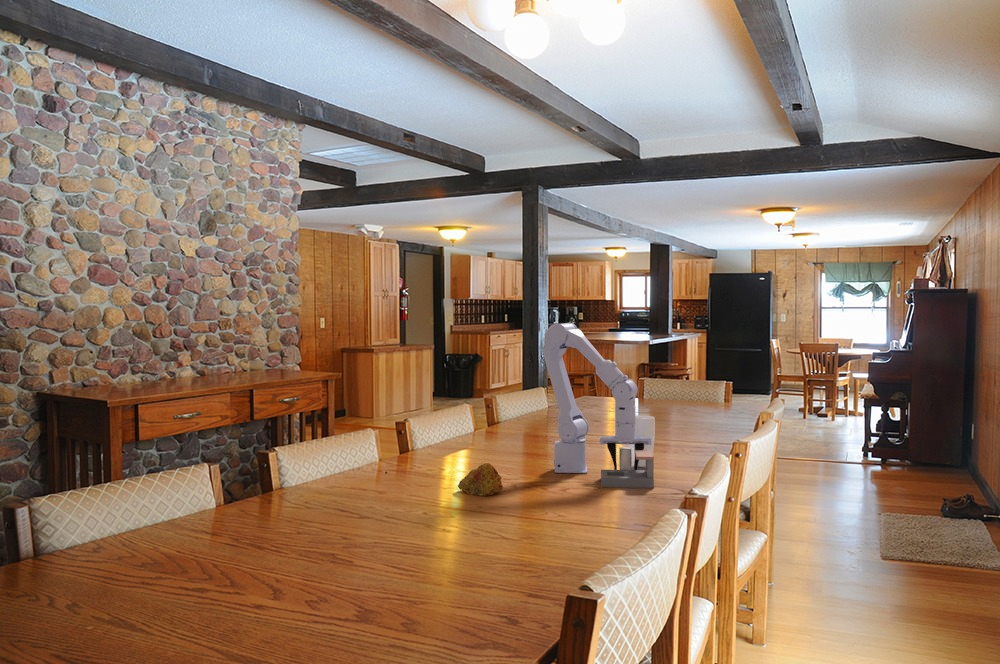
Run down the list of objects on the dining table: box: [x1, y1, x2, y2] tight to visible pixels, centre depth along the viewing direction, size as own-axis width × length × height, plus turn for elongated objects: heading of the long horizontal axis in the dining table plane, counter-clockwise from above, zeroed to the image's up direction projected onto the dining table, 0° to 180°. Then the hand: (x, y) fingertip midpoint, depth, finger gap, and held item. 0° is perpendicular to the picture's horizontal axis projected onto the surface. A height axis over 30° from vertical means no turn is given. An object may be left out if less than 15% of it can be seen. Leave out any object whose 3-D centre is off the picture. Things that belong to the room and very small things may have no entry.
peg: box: [618, 447, 633, 470], centre depth 208 cm, size 3×3×8 cm
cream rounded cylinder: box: [633, 415, 656, 468], centre depth 221 cm, size 7×7×15 cm
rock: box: [457, 462, 504, 497], centre depth 193 cm, size 11×8×10 cm
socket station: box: [600, 450, 655, 489], centre depth 200 cm, size 14×10×8 cm
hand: (625, 469), depth 208 cm, fingers open, 5 cm apart
